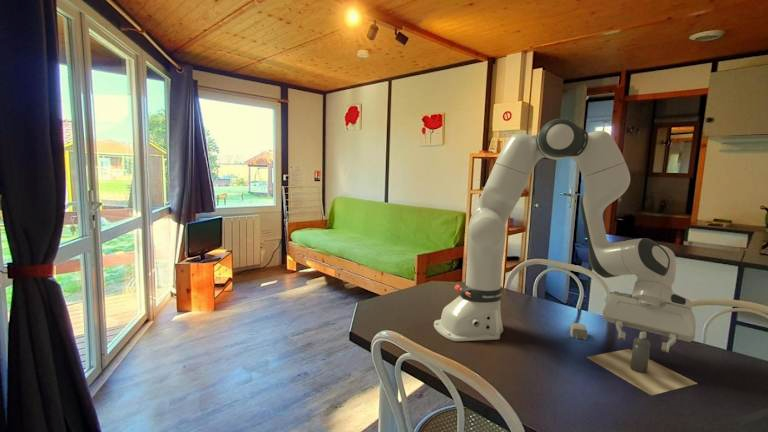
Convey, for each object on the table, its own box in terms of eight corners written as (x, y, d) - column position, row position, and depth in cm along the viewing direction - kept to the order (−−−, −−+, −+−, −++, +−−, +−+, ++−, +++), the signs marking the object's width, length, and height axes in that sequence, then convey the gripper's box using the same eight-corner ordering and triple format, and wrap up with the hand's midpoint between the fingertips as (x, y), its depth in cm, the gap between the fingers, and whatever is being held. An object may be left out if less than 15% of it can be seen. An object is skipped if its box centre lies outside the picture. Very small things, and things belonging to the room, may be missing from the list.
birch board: (650, 399, 86) (651, 395, 86) (585, 360, 103) (586, 357, 103) (697, 387, 92) (697, 383, 91) (628, 352, 108) (628, 348, 108)
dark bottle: (640, 374, 95) (645, 336, 94) (627, 367, 98) (631, 330, 97) (650, 371, 96) (655, 334, 95) (637, 364, 99) (641, 328, 98)
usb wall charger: (583, 336, 118) (585, 324, 117) (588, 346, 111) (589, 333, 111) (569, 334, 119) (571, 322, 119) (573, 344, 113) (574, 331, 112)
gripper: (607, 284, 108) (596, 327, 102) (699, 302, 94) (693, 352, 88) (608, 295, 112) (598, 337, 106) (697, 314, 98) (691, 363, 92)
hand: (642, 344), depth 97 cm, fingers open, 8 cm apart
